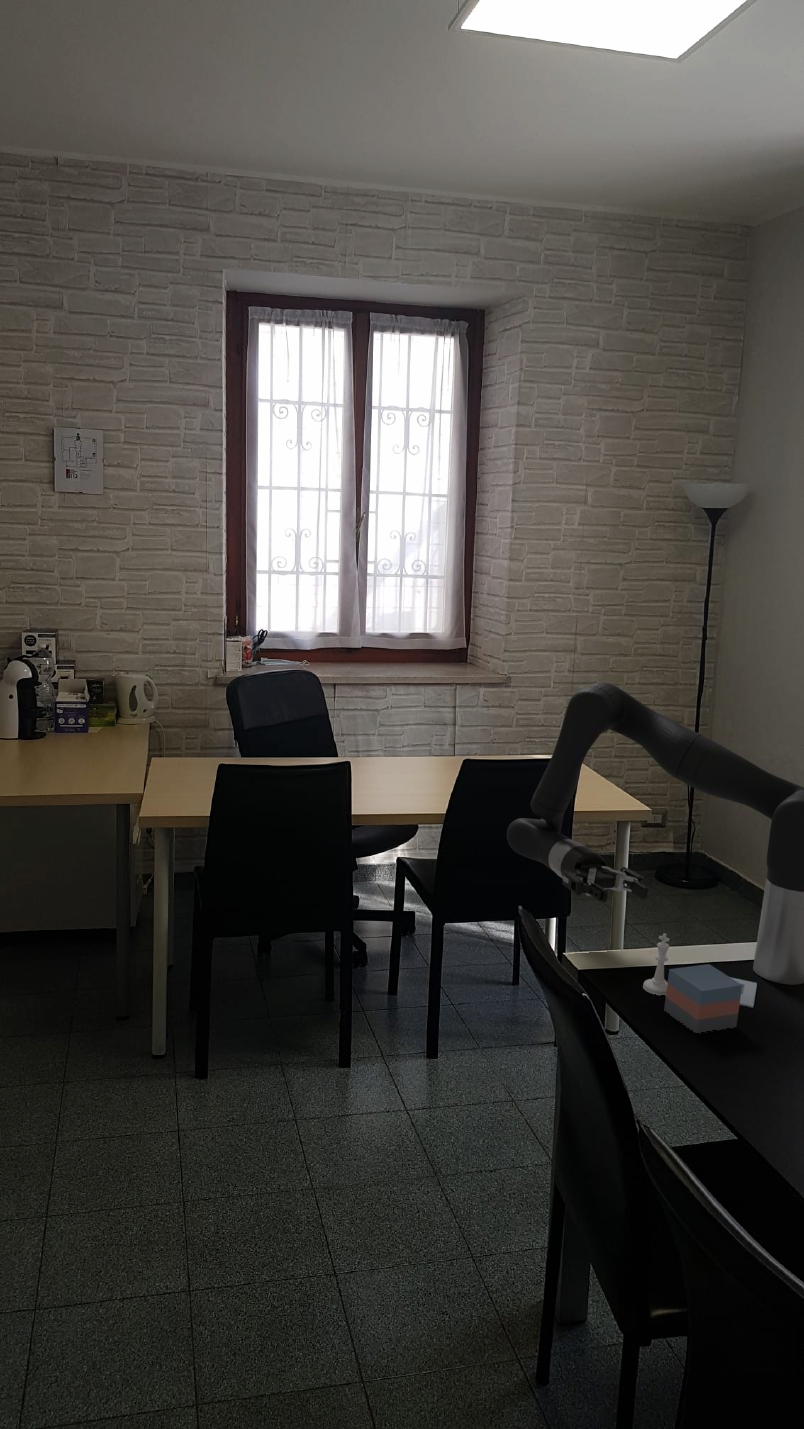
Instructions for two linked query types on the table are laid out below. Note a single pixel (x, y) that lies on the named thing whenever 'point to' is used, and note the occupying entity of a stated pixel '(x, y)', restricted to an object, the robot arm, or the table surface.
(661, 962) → the chess piece
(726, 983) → the brick tower
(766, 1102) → the table surface
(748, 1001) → the picture card
